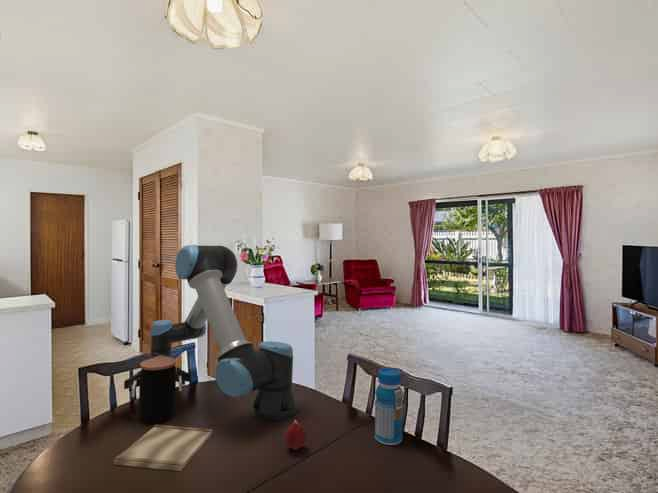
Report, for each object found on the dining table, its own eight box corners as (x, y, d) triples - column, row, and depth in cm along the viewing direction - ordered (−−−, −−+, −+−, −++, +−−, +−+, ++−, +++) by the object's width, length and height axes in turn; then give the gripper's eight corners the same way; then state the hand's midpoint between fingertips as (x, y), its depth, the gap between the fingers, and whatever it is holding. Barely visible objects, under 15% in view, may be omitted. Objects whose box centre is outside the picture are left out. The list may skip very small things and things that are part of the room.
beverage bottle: (376, 446, 103) (377, 376, 103) (372, 431, 111) (373, 366, 111) (405, 446, 103) (407, 376, 103) (399, 431, 111) (401, 366, 112)
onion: (309, 446, 102) (309, 417, 102) (300, 457, 97) (301, 427, 97) (290, 442, 104) (291, 414, 104) (281, 452, 98) (282, 423, 99)
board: (212, 434, 107) (212, 429, 107) (180, 471, 89) (181, 465, 89) (155, 429, 109) (156, 424, 109) (113, 464, 91) (114, 458, 91)
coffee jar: (181, 411, 122) (182, 357, 122) (163, 426, 111) (165, 368, 111) (151, 409, 123) (152, 356, 123) (131, 424, 112) (132, 366, 112)
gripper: (195, 374, 139) (198, 395, 119) (121, 382, 129) (111, 407, 110) (195, 355, 139) (199, 373, 119) (121, 361, 129) (112, 382, 110)
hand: (157, 389), depth 114 cm, fingers open, 13 cm apart
